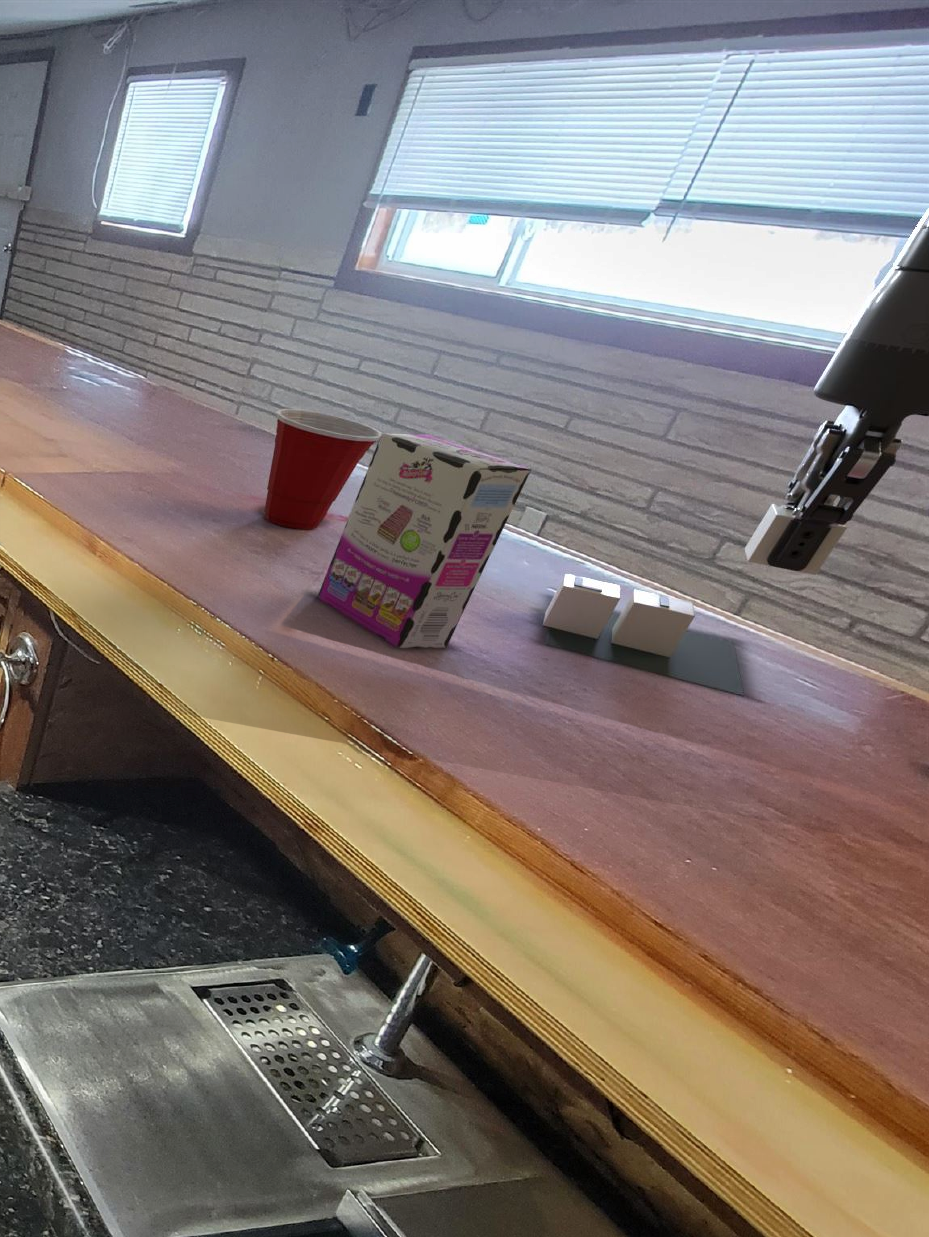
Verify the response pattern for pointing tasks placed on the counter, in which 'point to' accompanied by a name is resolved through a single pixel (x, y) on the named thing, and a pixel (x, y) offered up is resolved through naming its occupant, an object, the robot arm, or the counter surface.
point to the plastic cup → (312, 465)
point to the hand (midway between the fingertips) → (780, 559)
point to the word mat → (689, 661)
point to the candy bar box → (420, 537)
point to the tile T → (773, 530)
